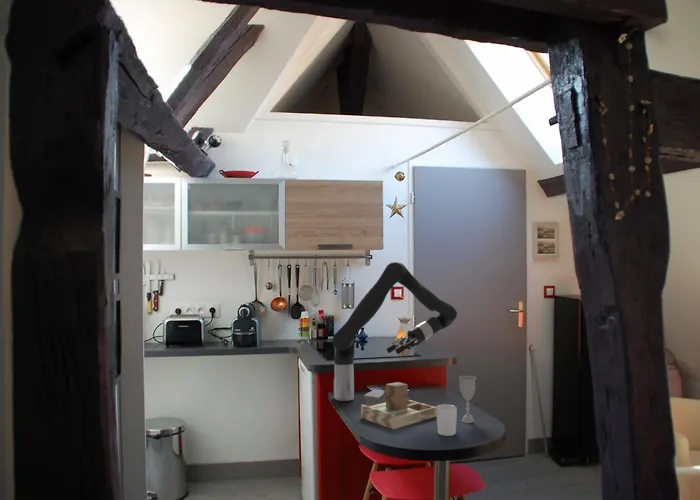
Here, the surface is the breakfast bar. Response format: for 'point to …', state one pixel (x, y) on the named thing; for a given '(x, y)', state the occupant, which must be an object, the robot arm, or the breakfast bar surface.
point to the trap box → (398, 414)
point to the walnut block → (396, 396)
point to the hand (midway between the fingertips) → (391, 351)
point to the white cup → (446, 419)
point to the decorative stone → (374, 397)
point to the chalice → (467, 394)
